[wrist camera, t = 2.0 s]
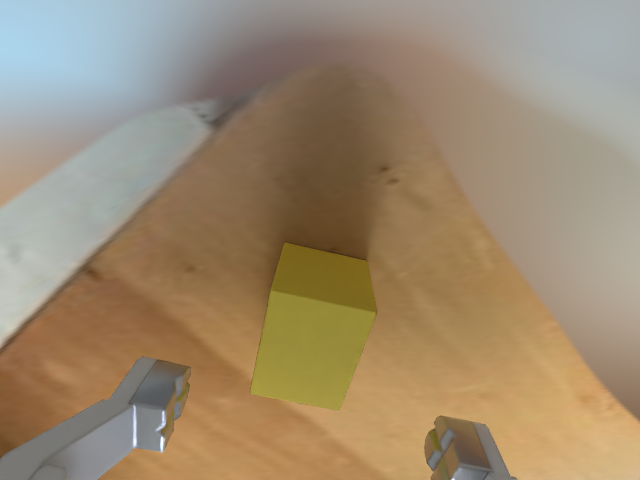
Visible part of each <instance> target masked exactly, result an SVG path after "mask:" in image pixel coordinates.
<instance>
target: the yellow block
mask: <svg viewBox="0 0 640 480" xmlns="http://www.w3.org/2000/svg"><path fill="white" fill-rule="evenodd" d="M376 314H377V309H376V303H375V298H374V293H373V288H372V283H371V277H370V272H369V267H368V262H367V261H366V260H361V259H357V258H352V257H348V256H344V255H339V254H335V253H330V252H326V251H321V250H317V249H312V248H308V247H303V246H299V245H294V244H290V243H284V245H283V249H282V252H281V256H280V259H279V262H278V266H277V269H276V273H275V276H274V279H273V283H272V286H271V290H270V295H269V299H268V304H267V309H266V314H265V319H264V324H263V329H262V334H261V339H260V344H259V348H258V353H257V358H256V363H255V368H254V373H253V378H252V383H251V388H250V394H254V395H259V396H264V397H270V398H275V399H280V400H285V401H291V402H296V403H301V404H306V405H312V406H317V407H322V408H327V409H333V410H340V407H341V405H342V402H343V400H344V397H345V394H346V392H347V389H348V387H349V384H350V381H351V379H352V376H353V374H354V371H355V369H356V366H357V363H358V361H359V358H360V356H361V353H362V350H363V348H364V345H365V343H366V340H367V338H368V335H369V332H370V330H371V327H372V325H373V322H374V319H375V317H376Z"/></svg>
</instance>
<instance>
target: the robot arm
mask: <svg viewBox="0 0 640 480" xmlns="http://www.w3.org/2000/svg"><path fill="white" fill-rule="evenodd" d="M190 375H191V367H190V366H186V365H181V364H177V363H172V362H168V361H163V360H159V359H154V358H149V357H144V356H142V357H141V358H139V359H138V360H137V361H136V363H135V364H134V365H133V367H132V368H131V369H130V371H129V372H128V374H127V375H126V376H125V378H124V379H123V381H122V382H121V383H120V385H119V386H118V387H117V389H116V390H115V392H114V393H113V394H112V396H111V397H110V399H109V400H105V399H103V400H101V401H99V402H97V403H96V404H94V405H92V406H90V407H89V408H87V409H85V410H83V411H81V412H80V413H78V414H76V415H74V416H72V417H71V418H69V419H67V420H65V421H63V422H62V423H60V424H58V425H56V426H54V427H53V428H51V429H49V430H47V431H46V432H44V433H42V434H40V435H38V436H37V437H35V438H33V439H31V440H29V441H28V442H26V443H24V444H22V445H20V446H19V447H17V448H15V449H13V450H12V451H10V452H8V453H6V454H4V455H3V457H2V458H1V459H0V480H97V479H98V478H100V477H101V476H102V475H103V474H104V473H106V472H107V471H108V470H109V469H110V468H112V467H113V466H114V465H115V464H116V463H118V462H119V461H120V460H121V459H123V458H124V457H125V456H126V455H127V454H129V453H130V452H131V451H132V450H133V448H140V449H147V450H153V451H160V452H164V450H165V448H166V446H167V443H168V441H169V439H170V437H171V435H172V433H173V431H174V421H175V420H176V419H177V418H179V417H180V416H181V413H182V411H183V409H184V406H185V404H186V401H187V398H188V393H189V386H190V385H189V383H188V382H187V381H188V379H189V377H190ZM434 425H435V429H433V430H431V431H429V432H428V434H427V436H426V439H425V446H424V449H425V457H426V462H427V464H428V465H429V467H430V468H431V469H432V470H433V474H432V476H431V480H517V479H516V478H515V477H512V476H510V474H509V472H508V470H507V468H506V465H505V463H504V461H503V459H502V457H501V454H500V452H499V450H498V448H497V446H496V444H495V441H494V439H493V437H492V435H491V433H490V431H489V428H488V427H487V426H486V425H485V424H481V423H476V422H471V421H467V420H462V419H456V418H451V417H446V416H439V417H437V418H436V420H435V422H434Z"/></svg>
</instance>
